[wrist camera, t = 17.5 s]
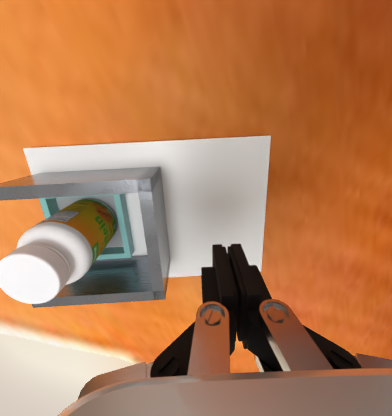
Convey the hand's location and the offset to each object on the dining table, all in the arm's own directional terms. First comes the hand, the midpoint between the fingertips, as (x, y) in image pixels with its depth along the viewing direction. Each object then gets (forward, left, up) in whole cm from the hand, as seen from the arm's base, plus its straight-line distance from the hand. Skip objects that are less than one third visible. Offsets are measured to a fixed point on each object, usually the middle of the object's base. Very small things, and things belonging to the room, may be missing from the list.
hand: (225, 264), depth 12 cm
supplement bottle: (+13, +1, -11) cm, 17 cm away
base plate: (+6, +1, -12) cm, 13 cm away
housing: (+11, +1, -11) cm, 15 cm away
